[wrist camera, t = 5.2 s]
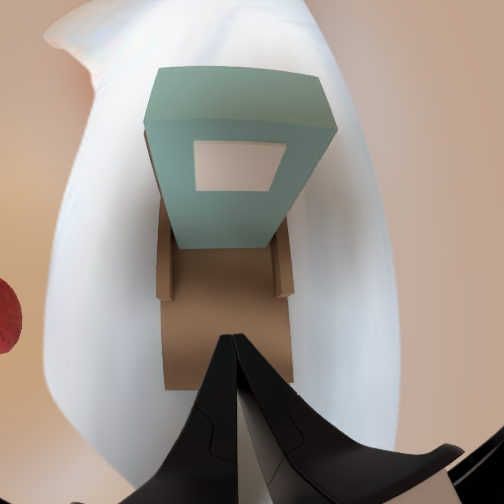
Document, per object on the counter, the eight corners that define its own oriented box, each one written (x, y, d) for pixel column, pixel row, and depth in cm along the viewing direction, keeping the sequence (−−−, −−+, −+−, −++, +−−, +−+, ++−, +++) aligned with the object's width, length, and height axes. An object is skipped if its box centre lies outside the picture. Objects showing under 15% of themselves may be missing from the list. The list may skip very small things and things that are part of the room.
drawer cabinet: (289, 380, 18) (349, 408, 9) (167, 387, 16) (133, 427, 8) (273, 200, 22) (309, 124, 13) (166, 200, 20) (146, 120, 12)
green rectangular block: (265, 249, 19) (339, 133, 8) (179, 251, 18) (142, 125, 7) (262, 208, 20) (317, 77, 9) (180, 209, 19) (159, 68, 8)
